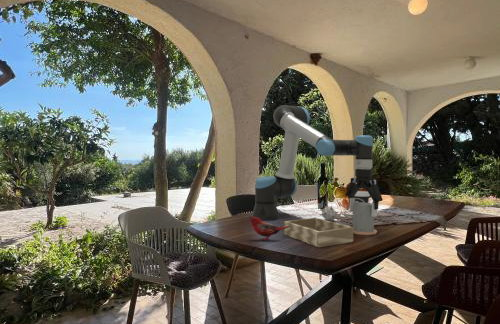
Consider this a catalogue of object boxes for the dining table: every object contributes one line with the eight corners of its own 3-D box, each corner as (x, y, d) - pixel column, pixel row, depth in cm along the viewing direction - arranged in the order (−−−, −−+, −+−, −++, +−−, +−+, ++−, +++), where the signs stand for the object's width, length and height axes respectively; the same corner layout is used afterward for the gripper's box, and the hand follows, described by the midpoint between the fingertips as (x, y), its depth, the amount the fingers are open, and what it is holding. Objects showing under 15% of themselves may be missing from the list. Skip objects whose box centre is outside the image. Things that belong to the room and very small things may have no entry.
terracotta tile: (344, 230, 162) (344, 228, 162) (362, 228, 168) (362, 226, 168) (363, 236, 152) (363, 234, 152) (382, 233, 158) (382, 231, 158)
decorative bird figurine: (249, 238, 148) (249, 215, 148) (290, 239, 146) (290, 216, 146) (248, 240, 145) (248, 217, 145) (290, 241, 143) (290, 217, 143)
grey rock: (332, 228, 185) (338, 215, 179) (317, 222, 187) (322, 209, 181) (334, 217, 192) (340, 205, 186) (320, 211, 194) (325, 199, 188)
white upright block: (358, 226, 167) (358, 201, 166) (377, 229, 160) (377, 203, 160) (348, 229, 160) (348, 203, 160) (367, 233, 153) (368, 206, 153)
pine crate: (283, 234, 156) (283, 221, 155) (315, 230, 164) (315, 217, 164) (319, 247, 134) (319, 232, 134) (353, 241, 143) (353, 227, 143)
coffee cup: (372, 219, 189) (372, 192, 189) (354, 219, 189) (355, 192, 189) (366, 216, 199) (366, 190, 198) (350, 216, 199) (350, 190, 198)
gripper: (338, 167, 168) (338, 210, 169) (379, 170, 146) (378, 219, 147) (349, 167, 172) (349, 208, 173) (391, 169, 150) (390, 217, 151)
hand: (362, 213), depth 160 cm, fingers open, 13 cm apart
